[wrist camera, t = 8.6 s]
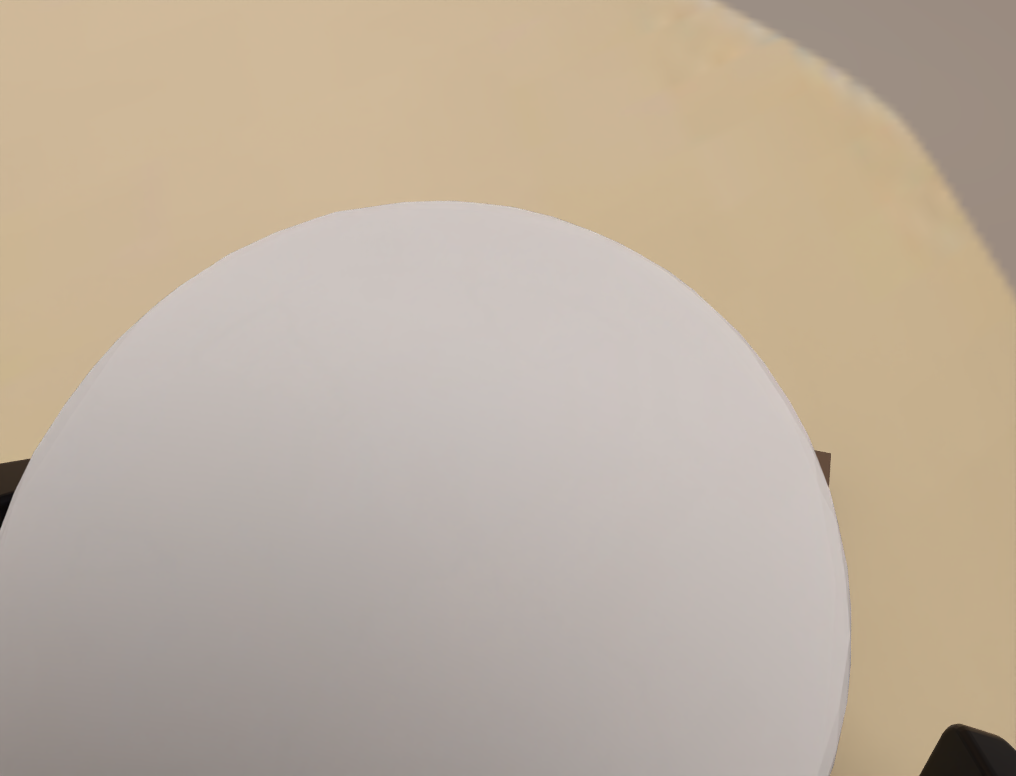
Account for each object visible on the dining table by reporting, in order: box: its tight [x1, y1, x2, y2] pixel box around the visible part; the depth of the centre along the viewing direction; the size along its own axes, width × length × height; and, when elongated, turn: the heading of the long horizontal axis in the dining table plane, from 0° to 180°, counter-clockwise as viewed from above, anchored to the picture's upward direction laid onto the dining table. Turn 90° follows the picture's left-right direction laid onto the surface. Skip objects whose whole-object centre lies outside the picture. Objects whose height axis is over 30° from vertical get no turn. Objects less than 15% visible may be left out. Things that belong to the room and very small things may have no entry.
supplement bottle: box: [0, 201, 851, 776], centre depth 10 cm, size 7×7×13 cm
